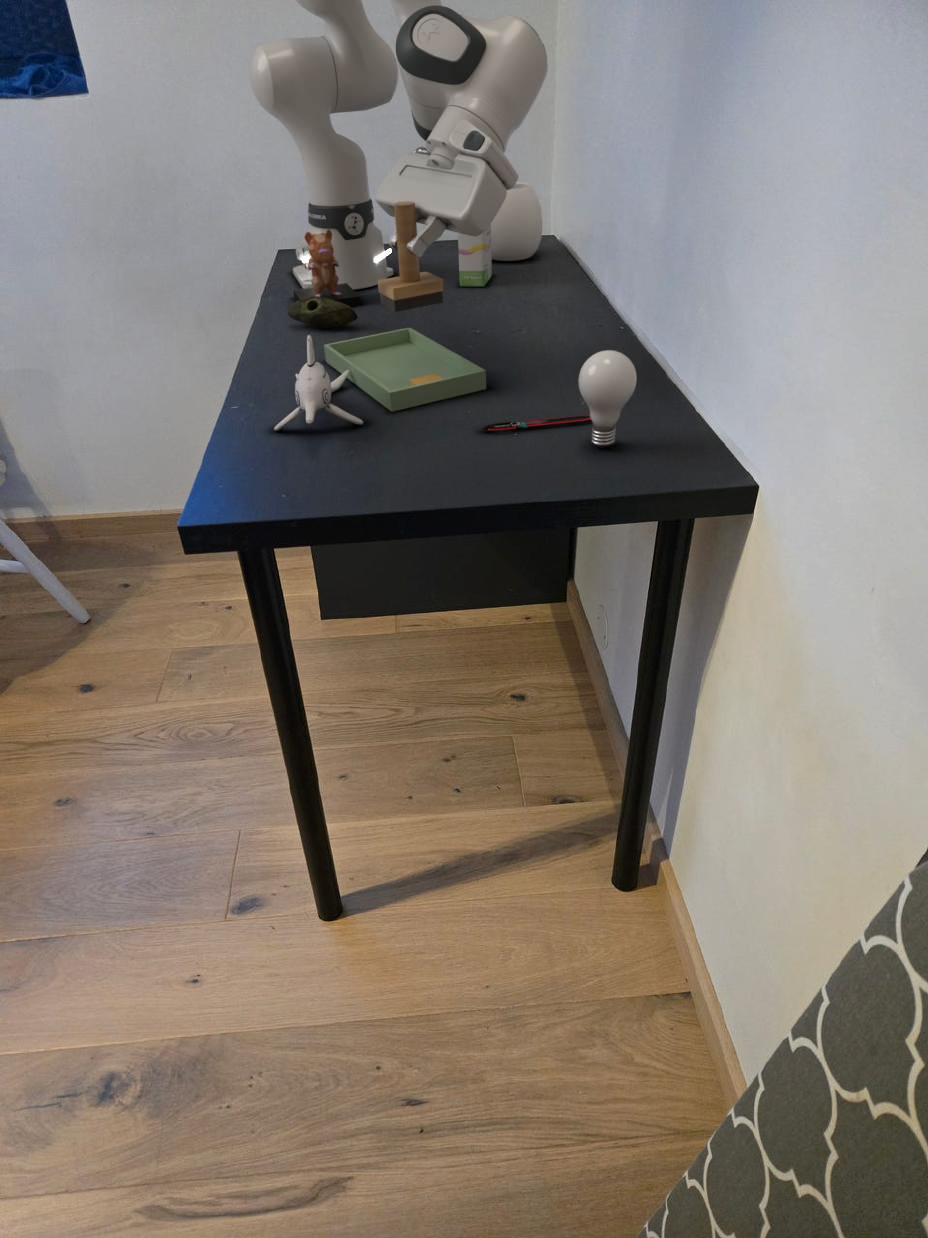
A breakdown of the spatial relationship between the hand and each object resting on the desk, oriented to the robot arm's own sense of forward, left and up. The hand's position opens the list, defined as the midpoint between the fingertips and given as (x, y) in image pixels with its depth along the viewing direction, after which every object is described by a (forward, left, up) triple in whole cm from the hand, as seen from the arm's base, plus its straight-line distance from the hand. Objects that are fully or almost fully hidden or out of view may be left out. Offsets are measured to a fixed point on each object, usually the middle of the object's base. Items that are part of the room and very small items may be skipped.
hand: (403, 250), depth 104 cm
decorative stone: (-32, -1, -17) cm, 36 cm away
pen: (+22, +6, -17) cm, 29 cm away
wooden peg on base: (0, +1, -7) cm, 7 cm away
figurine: (-46, +5, -17) cm, 50 cm away
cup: (-54, +49, -17) cm, 75 cm away
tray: (-4, 0, -17) cm, 18 cm away
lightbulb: (+31, +9, -17) cm, 37 cm away
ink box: (-42, +34, -17) cm, 57 cm away
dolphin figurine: (+4, -15, -17) cm, 24 cm away
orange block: (+5, 0, -17) cm, 17 cm away
